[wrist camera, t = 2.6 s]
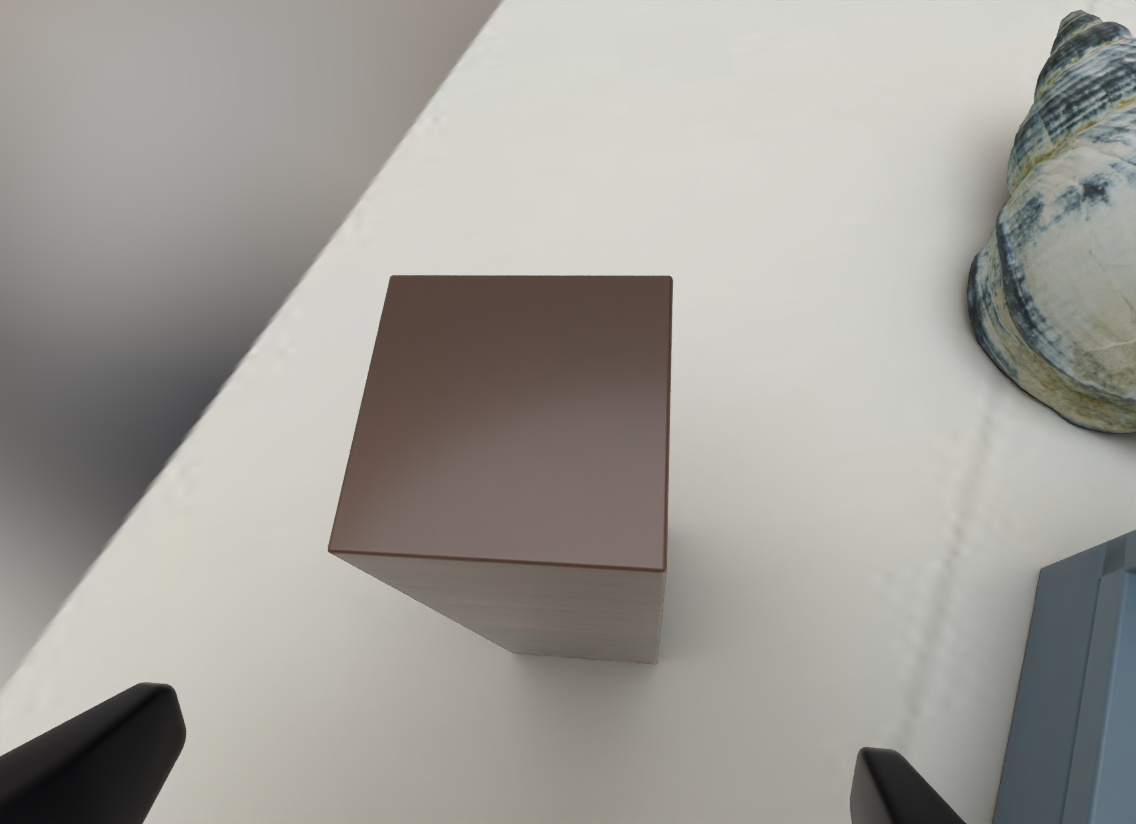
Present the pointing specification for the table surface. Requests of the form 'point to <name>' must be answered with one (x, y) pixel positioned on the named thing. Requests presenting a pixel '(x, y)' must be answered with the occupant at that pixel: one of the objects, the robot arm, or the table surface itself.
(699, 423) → the table surface
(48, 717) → the table surface
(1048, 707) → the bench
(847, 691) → the table surface
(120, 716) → the robot arm
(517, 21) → the table surface
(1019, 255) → the seashell
